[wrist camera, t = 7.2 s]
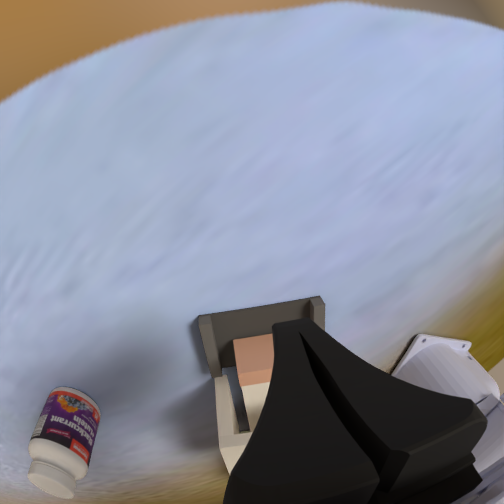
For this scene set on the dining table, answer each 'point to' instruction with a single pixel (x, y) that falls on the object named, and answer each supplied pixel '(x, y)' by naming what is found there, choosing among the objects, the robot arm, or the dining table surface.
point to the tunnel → (228, 424)
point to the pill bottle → (63, 441)
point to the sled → (254, 372)
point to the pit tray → (250, 327)
